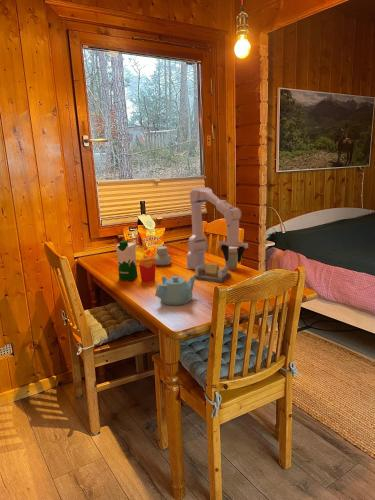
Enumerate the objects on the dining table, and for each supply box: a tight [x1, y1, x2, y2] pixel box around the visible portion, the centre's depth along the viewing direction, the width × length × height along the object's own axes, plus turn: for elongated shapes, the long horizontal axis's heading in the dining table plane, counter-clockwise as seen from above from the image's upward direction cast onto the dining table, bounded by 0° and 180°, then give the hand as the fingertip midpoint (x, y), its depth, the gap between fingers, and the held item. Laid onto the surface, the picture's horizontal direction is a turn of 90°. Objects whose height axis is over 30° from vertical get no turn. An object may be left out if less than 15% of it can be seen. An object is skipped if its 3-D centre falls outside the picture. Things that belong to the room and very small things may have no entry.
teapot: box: [154, 275, 196, 307], centre depth 157 cm, size 15×15×11 cm
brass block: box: [205, 262, 220, 277], centre depth 184 cm, size 6×4×6 cm, turn 61°
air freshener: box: [154, 245, 172, 267], centre depth 209 cm, size 11×8×10 cm
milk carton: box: [115, 240, 138, 282], centre depth 186 cm, size 9×9×20 cm
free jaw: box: [218, 265, 229, 278], centre depth 181 cm, size 2×8×4 cm, turn 151°
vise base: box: [192, 262, 232, 284], centre depth 184 cm, size 16×11×6 cm
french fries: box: [138, 256, 157, 284], centre depth 182 cm, size 8×4×12 cm, turn 111°
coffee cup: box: [224, 246, 239, 271], centre depth 197 cm, size 8×8×12 cm
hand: (233, 261), depth 177 cm, fingers open, 6 cm apart
